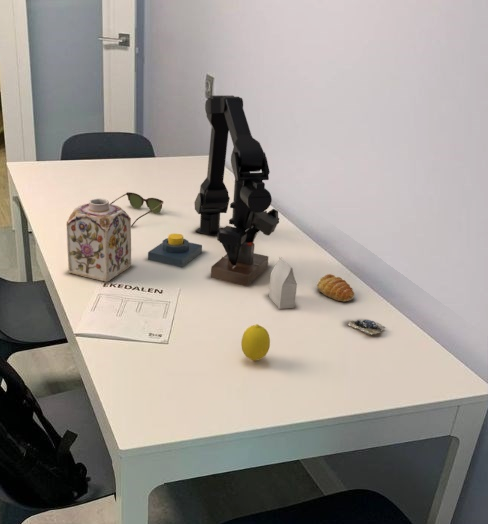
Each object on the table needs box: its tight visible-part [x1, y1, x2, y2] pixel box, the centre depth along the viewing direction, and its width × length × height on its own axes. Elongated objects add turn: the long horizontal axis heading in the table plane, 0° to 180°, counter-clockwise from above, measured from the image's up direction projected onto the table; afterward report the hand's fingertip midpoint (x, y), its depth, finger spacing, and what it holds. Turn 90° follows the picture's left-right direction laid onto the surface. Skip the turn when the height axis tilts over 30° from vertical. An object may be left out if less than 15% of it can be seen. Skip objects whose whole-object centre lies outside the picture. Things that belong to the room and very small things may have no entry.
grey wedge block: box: [268, 256, 298, 310], centre depth 155 cm, size 4×7×10 cm, turn 16°
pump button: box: [167, 233, 184, 245], centre depth 177 cm, size 4×4×2 cm
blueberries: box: [347, 319, 387, 335], centre depth 146 cm, size 7×8×2 cm
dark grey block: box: [228, 242, 255, 265], centre depth 169 cm, size 6×2×5 cm, turn 65°
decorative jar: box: [66, 198, 132, 283], centre depth 165 cm, size 12×12×18 cm
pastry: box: [316, 273, 355, 302], centre depth 161 cm, size 9×7×4 cm
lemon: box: [240, 324, 271, 362], centre depth 131 cm, size 6×6×8 cm
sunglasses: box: [109, 191, 164, 228], centre depth 205 cm, size 14×15×5 cm
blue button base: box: [147, 237, 203, 268], centre depth 178 cm, size 12×10×4 cm
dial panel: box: [210, 252, 269, 287], centre depth 170 cm, size 14×10×3 cm
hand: (240, 258), depth 170 cm, fingers open, 9 cm apart
